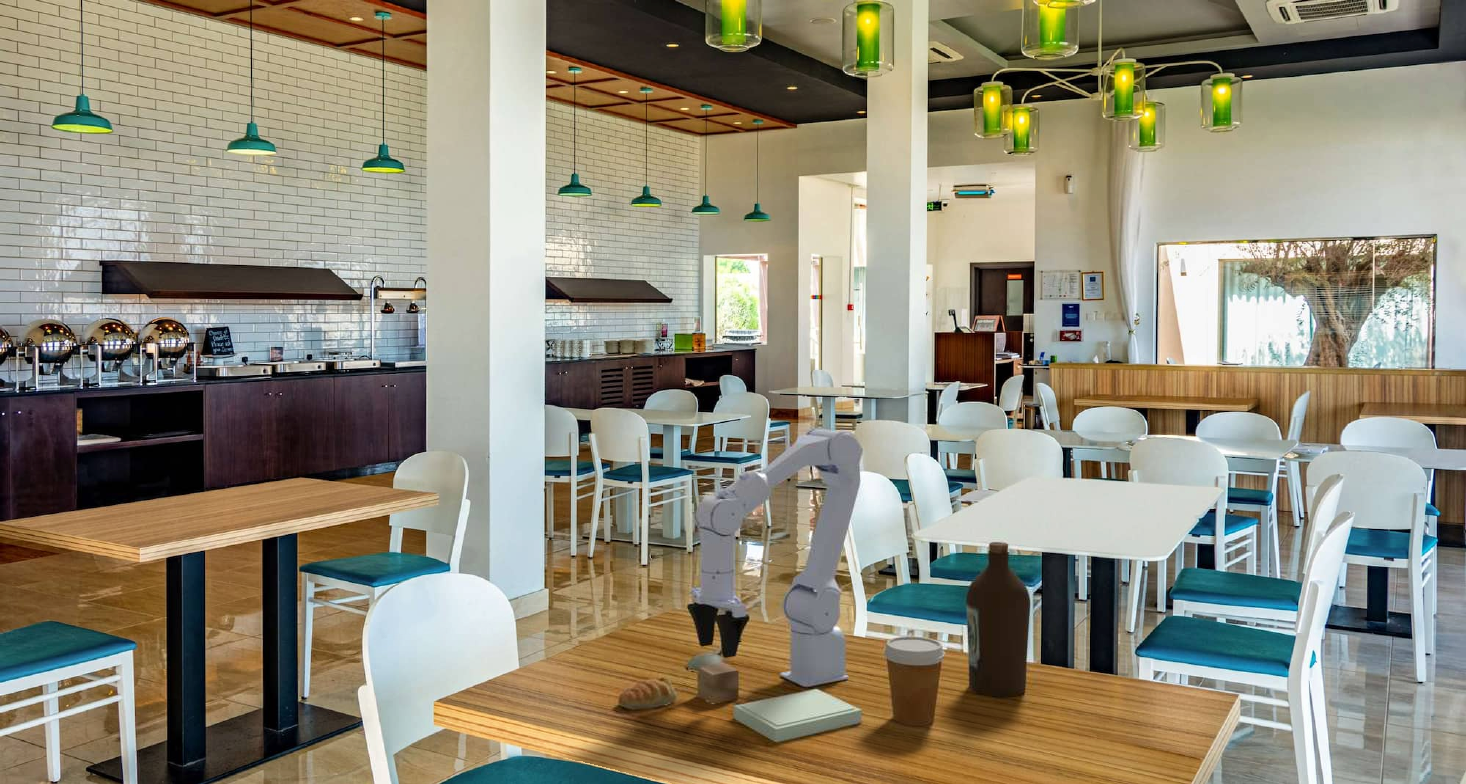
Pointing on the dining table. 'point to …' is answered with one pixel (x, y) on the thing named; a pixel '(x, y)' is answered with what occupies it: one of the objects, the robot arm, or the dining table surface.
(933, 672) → the disposable coffee cup
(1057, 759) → the dining table surface
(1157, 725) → the dining table surface
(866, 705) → the dining table surface
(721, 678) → the walnut block
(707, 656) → the soupspoon
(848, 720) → the serving board
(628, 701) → the pastry
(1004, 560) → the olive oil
